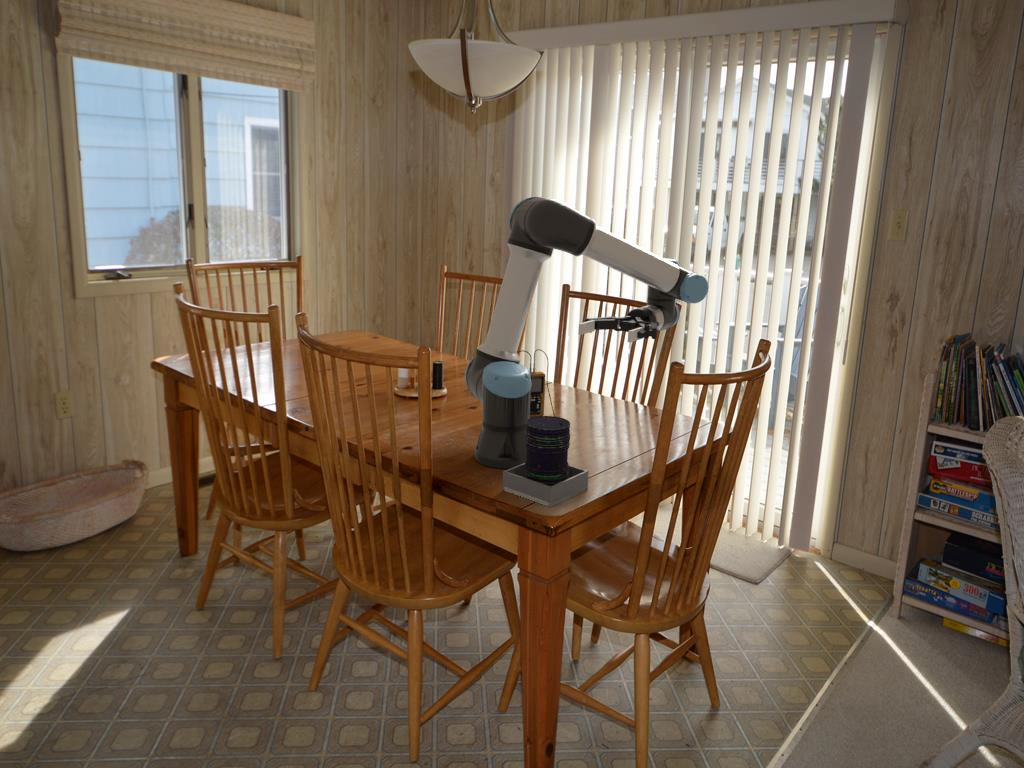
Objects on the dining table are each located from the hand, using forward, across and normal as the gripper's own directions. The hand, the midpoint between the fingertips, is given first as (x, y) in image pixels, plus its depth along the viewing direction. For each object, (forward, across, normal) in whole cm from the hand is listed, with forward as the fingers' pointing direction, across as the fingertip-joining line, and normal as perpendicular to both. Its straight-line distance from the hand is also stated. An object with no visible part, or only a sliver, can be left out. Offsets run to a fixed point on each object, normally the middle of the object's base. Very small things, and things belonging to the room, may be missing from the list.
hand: (604, 332), depth 189 cm
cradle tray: (+26, -2, -32) cm, 41 cm away
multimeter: (-16, +30, -32) cm, 47 cm away
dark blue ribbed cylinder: (+26, -2, -31) cm, 41 cm away
